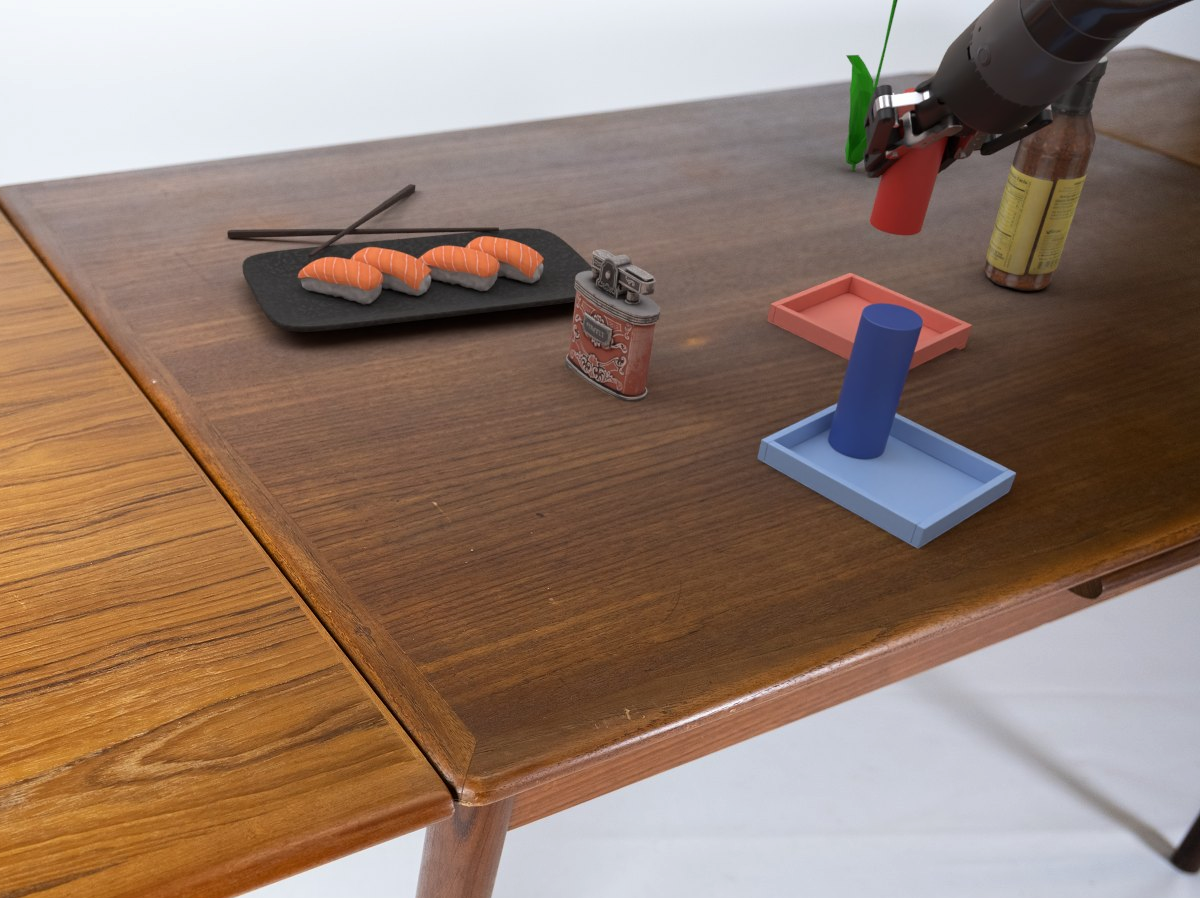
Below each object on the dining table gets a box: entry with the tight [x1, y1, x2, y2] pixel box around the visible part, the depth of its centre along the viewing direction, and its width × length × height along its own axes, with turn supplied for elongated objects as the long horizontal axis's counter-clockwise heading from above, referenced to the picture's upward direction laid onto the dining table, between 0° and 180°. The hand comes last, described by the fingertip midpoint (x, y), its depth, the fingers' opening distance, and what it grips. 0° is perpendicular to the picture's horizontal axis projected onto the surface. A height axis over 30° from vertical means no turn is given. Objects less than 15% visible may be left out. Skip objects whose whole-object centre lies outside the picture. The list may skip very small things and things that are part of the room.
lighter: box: [564, 249, 661, 403], centre depth 94 cm, size 8×3×10 cm, turn 35°
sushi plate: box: [226, 183, 592, 333], centre depth 112 cm, size 29×30×4 cm
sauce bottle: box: [983, 55, 1109, 292], centre depth 112 cm, size 6×6×20 cm
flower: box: [844, 0, 899, 172], centre depth 130 cm, size 9×8×30 cm
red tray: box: [766, 272, 973, 371], centre depth 106 cm, size 12×11×2 cm
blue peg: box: [828, 303, 923, 459], centre depth 88 cm, size 4×4×10 cm
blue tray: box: [757, 403, 1017, 549], centre depth 88 cm, size 13×11×2 cm
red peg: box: [869, 87, 948, 236], centre depth 98 cm, size 4×4×10 cm
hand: (898, 166), depth 100 cm, fingers closed on red peg, 4 cm apart
